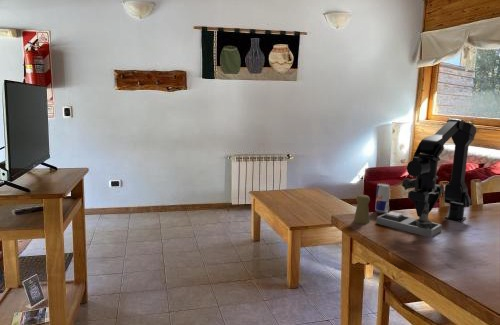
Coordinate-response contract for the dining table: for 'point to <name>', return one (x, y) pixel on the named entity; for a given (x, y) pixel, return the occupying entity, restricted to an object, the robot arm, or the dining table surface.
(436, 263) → the dining table surface
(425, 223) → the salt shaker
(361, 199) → the olive pepper mill
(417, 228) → the socket strip
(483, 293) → the dining table surface
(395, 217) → the plugged module
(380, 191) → the energy drink
